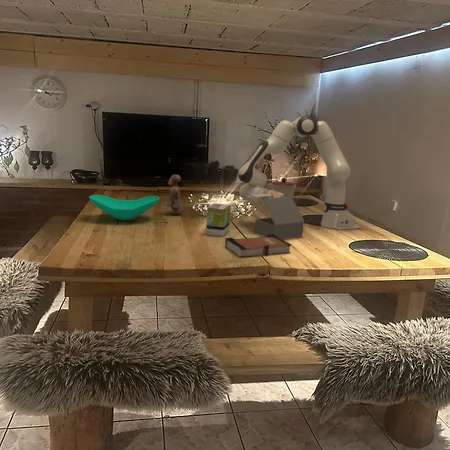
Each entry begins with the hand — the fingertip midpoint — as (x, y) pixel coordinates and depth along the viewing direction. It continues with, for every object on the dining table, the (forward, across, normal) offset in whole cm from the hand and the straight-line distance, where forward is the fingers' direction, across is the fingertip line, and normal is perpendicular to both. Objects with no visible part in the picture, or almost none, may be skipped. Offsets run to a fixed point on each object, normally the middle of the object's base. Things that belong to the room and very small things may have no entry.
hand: (276, 200), depth 234 cm
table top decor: (-64, -59, +19) cm, 89 cm away
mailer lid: (+4, 0, +3) cm, 5 cm away
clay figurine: (-65, -26, +19) cm, 72 cm away
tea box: (-16, -27, +19) cm, 36 cm away
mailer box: (+3, 0, +19) cm, 19 cm away
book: (+20, -28, +19) cm, 40 cm away
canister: (-56, +56, +19) cm, 82 cm away
